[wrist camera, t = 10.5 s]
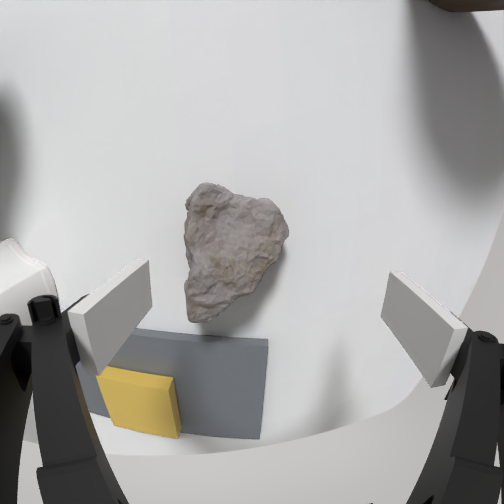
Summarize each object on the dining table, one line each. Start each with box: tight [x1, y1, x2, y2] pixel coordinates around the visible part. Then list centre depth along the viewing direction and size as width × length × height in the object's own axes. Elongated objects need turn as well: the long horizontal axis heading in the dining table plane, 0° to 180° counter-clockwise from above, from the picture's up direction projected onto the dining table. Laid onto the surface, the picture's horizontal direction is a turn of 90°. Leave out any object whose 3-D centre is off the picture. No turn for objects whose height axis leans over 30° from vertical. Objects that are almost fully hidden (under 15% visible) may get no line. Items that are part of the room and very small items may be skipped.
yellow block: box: [96, 366, 182, 439], centre depth 26 cm, size 8×2×8 cm
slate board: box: [76, 328, 268, 439], centre depth 28 cm, size 22×14×1 cm, turn 88°
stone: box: [184, 183, 289, 323], centre depth 21 cm, size 10×8×6 cm
